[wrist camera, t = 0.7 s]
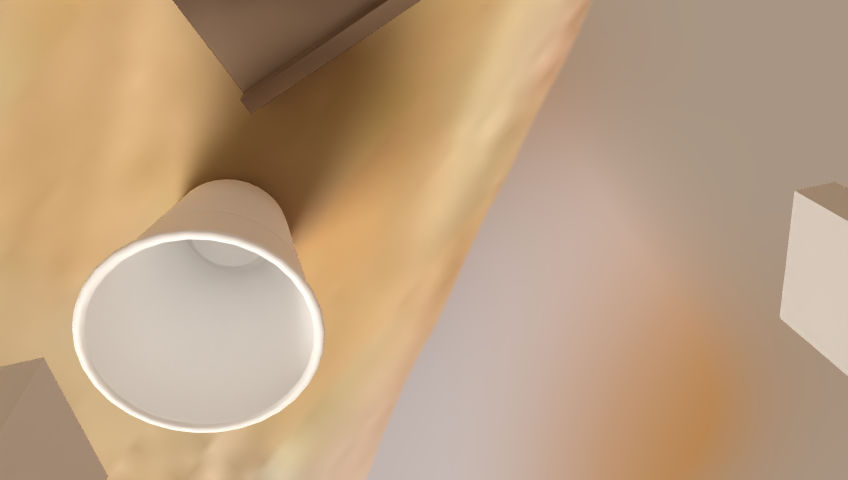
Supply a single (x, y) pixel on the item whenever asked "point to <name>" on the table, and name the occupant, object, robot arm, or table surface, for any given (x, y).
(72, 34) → the table surface
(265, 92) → the board
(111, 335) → the cup
